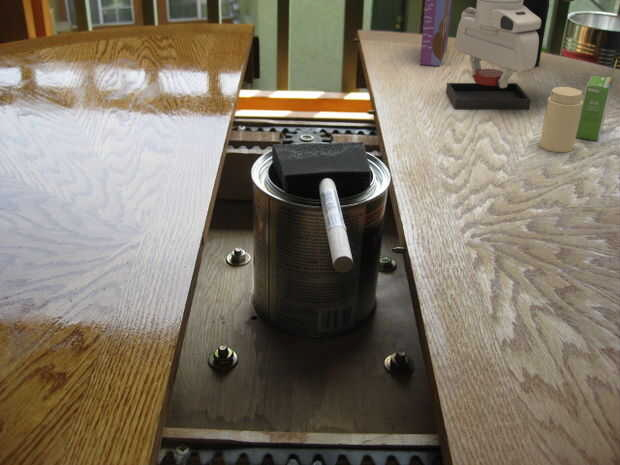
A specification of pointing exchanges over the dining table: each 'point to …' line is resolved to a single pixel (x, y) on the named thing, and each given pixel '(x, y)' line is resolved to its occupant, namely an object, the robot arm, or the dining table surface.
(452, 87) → the tray
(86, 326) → the dining table surface
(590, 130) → the ink box
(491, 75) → the jar lid
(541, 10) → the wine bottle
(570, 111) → the jar
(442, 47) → the cereal box
